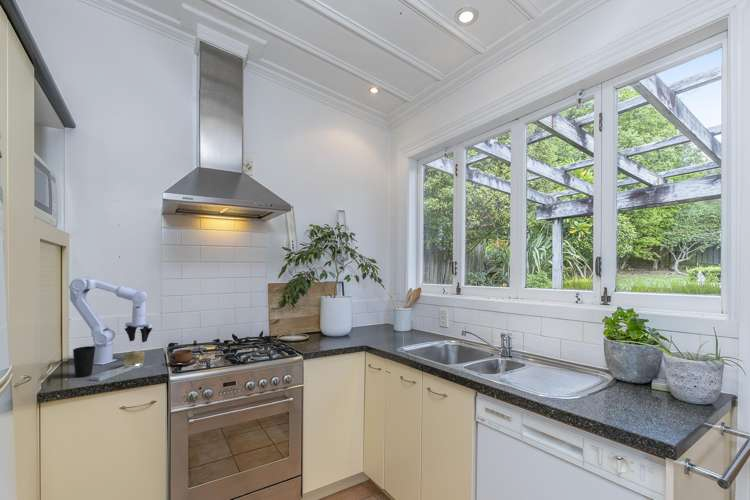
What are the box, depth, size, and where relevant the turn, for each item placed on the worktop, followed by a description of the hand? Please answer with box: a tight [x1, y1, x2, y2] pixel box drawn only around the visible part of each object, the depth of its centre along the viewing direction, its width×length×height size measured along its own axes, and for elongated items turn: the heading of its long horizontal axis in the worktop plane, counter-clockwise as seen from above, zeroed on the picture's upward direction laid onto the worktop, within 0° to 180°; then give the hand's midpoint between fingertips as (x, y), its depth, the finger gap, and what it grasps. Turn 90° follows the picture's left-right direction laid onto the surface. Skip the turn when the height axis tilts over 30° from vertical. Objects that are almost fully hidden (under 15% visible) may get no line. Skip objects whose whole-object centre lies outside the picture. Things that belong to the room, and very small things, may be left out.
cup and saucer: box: [168, 349, 198, 366], centre depth 171 cm, size 12×12×6 cm
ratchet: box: [90, 362, 144, 382], centre depth 157 cm, size 7×22×5 cm, turn 169°
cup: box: [72, 345, 96, 379], centre depth 152 cm, size 8×8×12 cm
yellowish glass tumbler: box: [123, 350, 146, 365], centre depth 165 cm, size 6×6×5 cm
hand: (138, 341), depth 177 cm, fingers open, 7 cm apart
